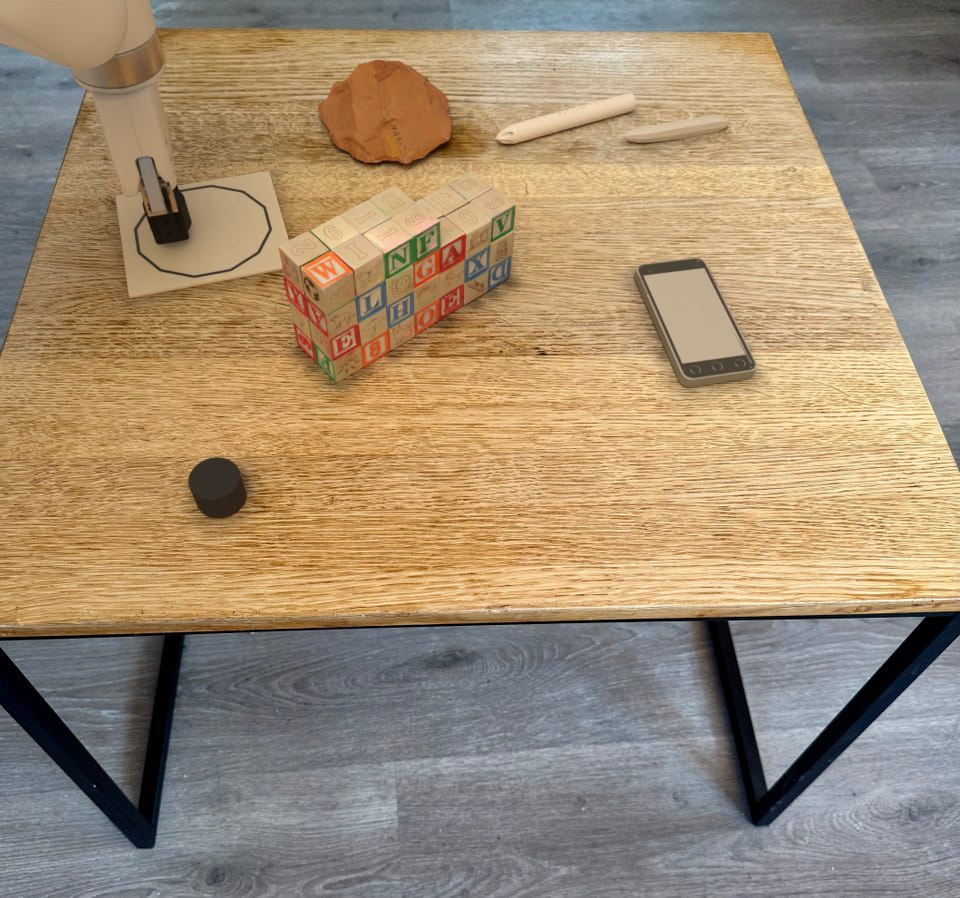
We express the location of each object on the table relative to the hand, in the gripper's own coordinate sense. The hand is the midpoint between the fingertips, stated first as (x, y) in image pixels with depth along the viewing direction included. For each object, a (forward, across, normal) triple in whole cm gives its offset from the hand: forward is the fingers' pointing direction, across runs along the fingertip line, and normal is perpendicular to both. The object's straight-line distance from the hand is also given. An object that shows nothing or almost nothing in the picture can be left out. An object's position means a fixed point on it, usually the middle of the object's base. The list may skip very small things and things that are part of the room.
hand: (169, 223), depth 87 cm
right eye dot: (+2, +32, 0) cm, 32 cm away
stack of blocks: (+2, +16, +20) cm, 26 cm away
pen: (+2, -2, +57) cm, 57 cm away
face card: (+2, 0, +3) cm, 3 cm away
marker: (+2, -7, +45) cm, 46 cm away
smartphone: (+2, +25, +46) cm, 52 cm away
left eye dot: (0, 0, 0) cm, 0 cm away
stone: (+2, -12, +25) cm, 28 cm away
